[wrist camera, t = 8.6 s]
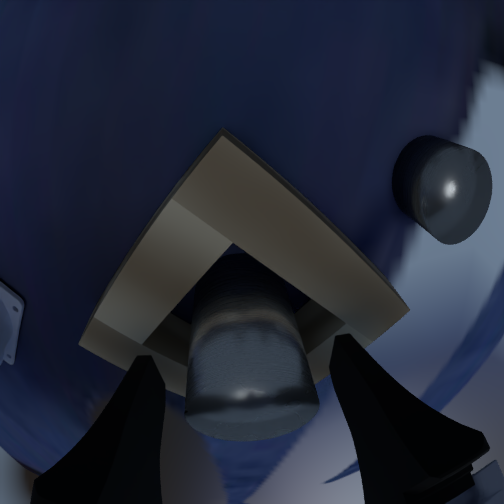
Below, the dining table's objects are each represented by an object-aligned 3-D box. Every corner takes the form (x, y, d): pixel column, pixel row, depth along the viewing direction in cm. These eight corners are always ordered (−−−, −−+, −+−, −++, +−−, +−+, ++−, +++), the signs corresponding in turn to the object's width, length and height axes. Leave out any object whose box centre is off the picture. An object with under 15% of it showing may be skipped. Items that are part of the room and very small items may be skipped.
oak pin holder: (250, 384, 19) (254, 420, 16) (95, 305, 14) (78, 344, 11) (384, 276, 15) (410, 309, 12) (222, 127, 10) (222, 135, 8)
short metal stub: (417, 233, 14) (448, 261, 11) (375, 177, 12) (410, 199, 10) (464, 179, 12) (500, 199, 10) (430, 117, 11) (472, 127, 8)
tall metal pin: (245, 335, 16) (257, 447, 10) (178, 298, 14) (160, 420, 8) (302, 284, 15) (344, 401, 9) (233, 235, 13) (243, 362, 7)
